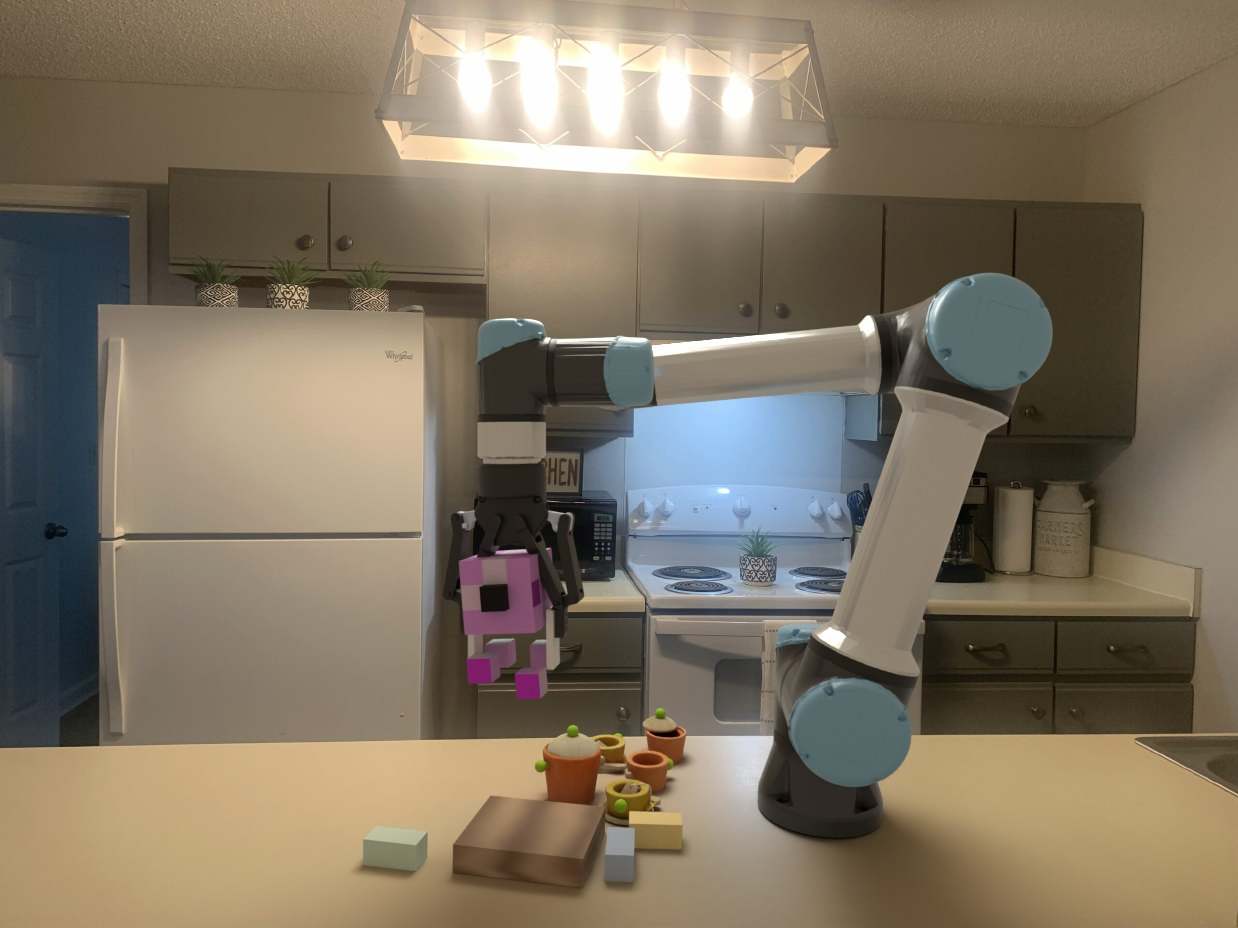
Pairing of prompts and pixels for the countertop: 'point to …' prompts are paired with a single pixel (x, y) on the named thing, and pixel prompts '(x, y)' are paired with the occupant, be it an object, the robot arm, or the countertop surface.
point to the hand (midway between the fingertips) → (514, 664)
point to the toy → (505, 616)
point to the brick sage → (395, 848)
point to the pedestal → (531, 841)
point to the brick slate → (619, 854)
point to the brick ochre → (656, 829)
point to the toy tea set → (612, 767)
